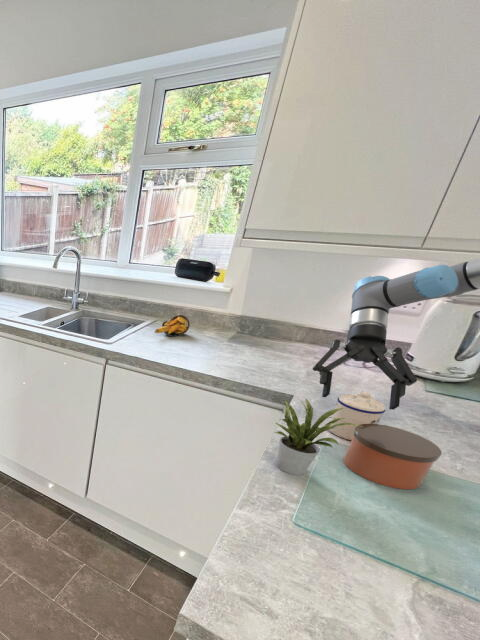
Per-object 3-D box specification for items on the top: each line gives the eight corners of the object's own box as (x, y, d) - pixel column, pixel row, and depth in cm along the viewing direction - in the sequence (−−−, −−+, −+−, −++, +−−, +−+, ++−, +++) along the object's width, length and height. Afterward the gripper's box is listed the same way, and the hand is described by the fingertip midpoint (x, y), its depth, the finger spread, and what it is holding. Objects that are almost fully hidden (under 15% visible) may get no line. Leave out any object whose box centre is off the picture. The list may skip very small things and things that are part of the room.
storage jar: (410, 463, 95) (427, 433, 92) (434, 498, 84) (454, 465, 81) (335, 447, 101) (348, 418, 98) (348, 477, 90) (364, 446, 87)
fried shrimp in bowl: (198, 324, 179) (183, 318, 166) (180, 344, 184) (164, 340, 171) (182, 312, 184) (166, 305, 171) (164, 332, 189) (147, 327, 177)
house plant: (342, 470, 93) (372, 405, 86) (332, 498, 84) (365, 429, 77) (267, 444, 102) (289, 384, 95) (252, 468, 93) (275, 404, 86)
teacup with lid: (366, 447, 101) (386, 404, 96) (320, 431, 108) (337, 391, 103) (378, 431, 108) (397, 391, 103) (334, 417, 114) (351, 379, 109)
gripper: (421, 344, 109) (416, 417, 104) (305, 329, 120) (294, 395, 115) (439, 330, 103) (434, 408, 97) (314, 316, 114) (304, 385, 108)
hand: (359, 401), depth 106 cm, fingers open, 13 cm apart
